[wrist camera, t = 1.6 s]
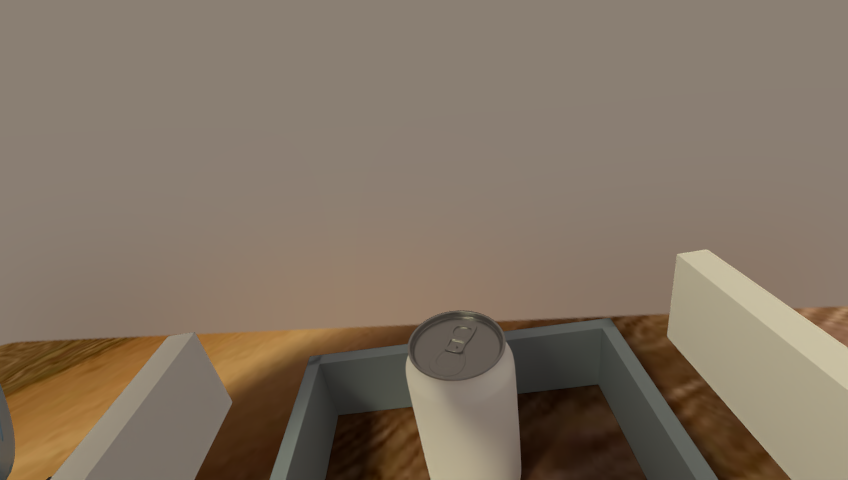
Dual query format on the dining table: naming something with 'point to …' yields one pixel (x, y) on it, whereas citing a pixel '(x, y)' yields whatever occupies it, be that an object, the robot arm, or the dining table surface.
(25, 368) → the dining table surface
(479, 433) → the can
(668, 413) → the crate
